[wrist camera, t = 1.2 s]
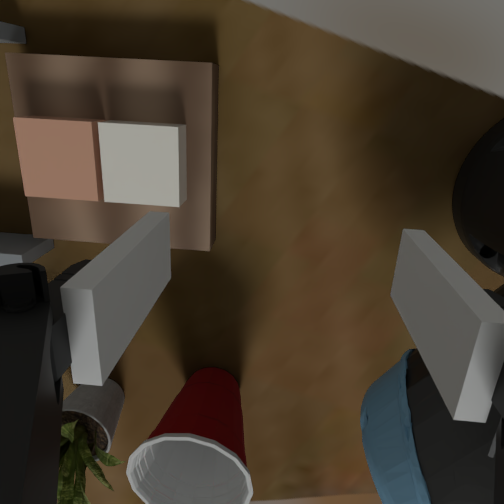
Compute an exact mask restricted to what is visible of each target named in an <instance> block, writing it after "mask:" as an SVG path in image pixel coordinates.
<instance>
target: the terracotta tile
mask: <svg viewBox="0 0 504 504" xmlns="http://www.w3.org/2000/svg"><path fill="white" fill-rule="evenodd" d="M13 121H14V128H15V134H16V141H17V147H18V153H19V160H20V166H21V173H22V179H23V186H24V192H25V196H30V197H44V198H58V199H72V200H86V201H100V200H102V199H103V198H104V190H103V179H102V167H101V155H100V143H99V131H98V122H103V121H105V120H99V119H82V118H65V117H48V116H22V117H13Z"/></svg>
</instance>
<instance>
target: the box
mask: <svg viewBox="0 0 504 504" xmlns="http://www.w3.org/2000/svg"><path fill="white" fill-rule="evenodd" d="M0 43H21V44H26V37H25V29H24V27H21V26H17V25H13V24H9V23H5V22H1V21H0ZM53 248H54V243H53V239H44V238H33V235H30V234H17V233H4V232H0V266H3V265H7V264H14V263H32V262H33V261H35V260H36V259H38V258H39V257H41V256H42V255H44V254H46V253H47V252H49V251H50V250H52V249H53Z"/></svg>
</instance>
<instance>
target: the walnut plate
mask: <svg viewBox="0 0 504 504" xmlns="http://www.w3.org/2000/svg"><path fill="white" fill-rule="evenodd" d="M5 57H6V63H7V70H8V76H9V83H10V89H11V96H12V102H13V109H14V115H15V117H22V116H48V117H65V118H82V119H99V120H105V121H110V120H116V121H133V122H150V123H167V124H184V125H186V167H187V200H186V201H185V202H184V203H183V204H182V205H181V206H180V207H171V206H156V205H142V204H128V203H114V202H104V198H103V199H102V200H100V201H86V200H72V199H58V198H44V197H30V196H27V199H28V206H29V212H30V219H31V225H32V232H33V238H44V239H57V240H70V241H83V242H96V243H109V244H112V243H113V242H114V241H115V240H116V239H118V238H119V237H120V236H121V235H122V234H123V233H125V232H126V231H127V230H128V229H129V228H130V227H132V226H133V225H134V224H135V223H136V222H138V221H139V220H140V219H141V218H142V217H143V216H145V215H146V214H147V213H148V212H149V211H154V212H168V213H169V221H170V248H174V249H187V250H200V251H210V250H211V248H212V246H213V244H214V242H215V239H216V184H217V129H218V73H219V65H217V64H214V63H207V62H187V61H167V60H147V59H126V58H106V57H86V56H66V55H46V54H25V53H5Z"/></svg>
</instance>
